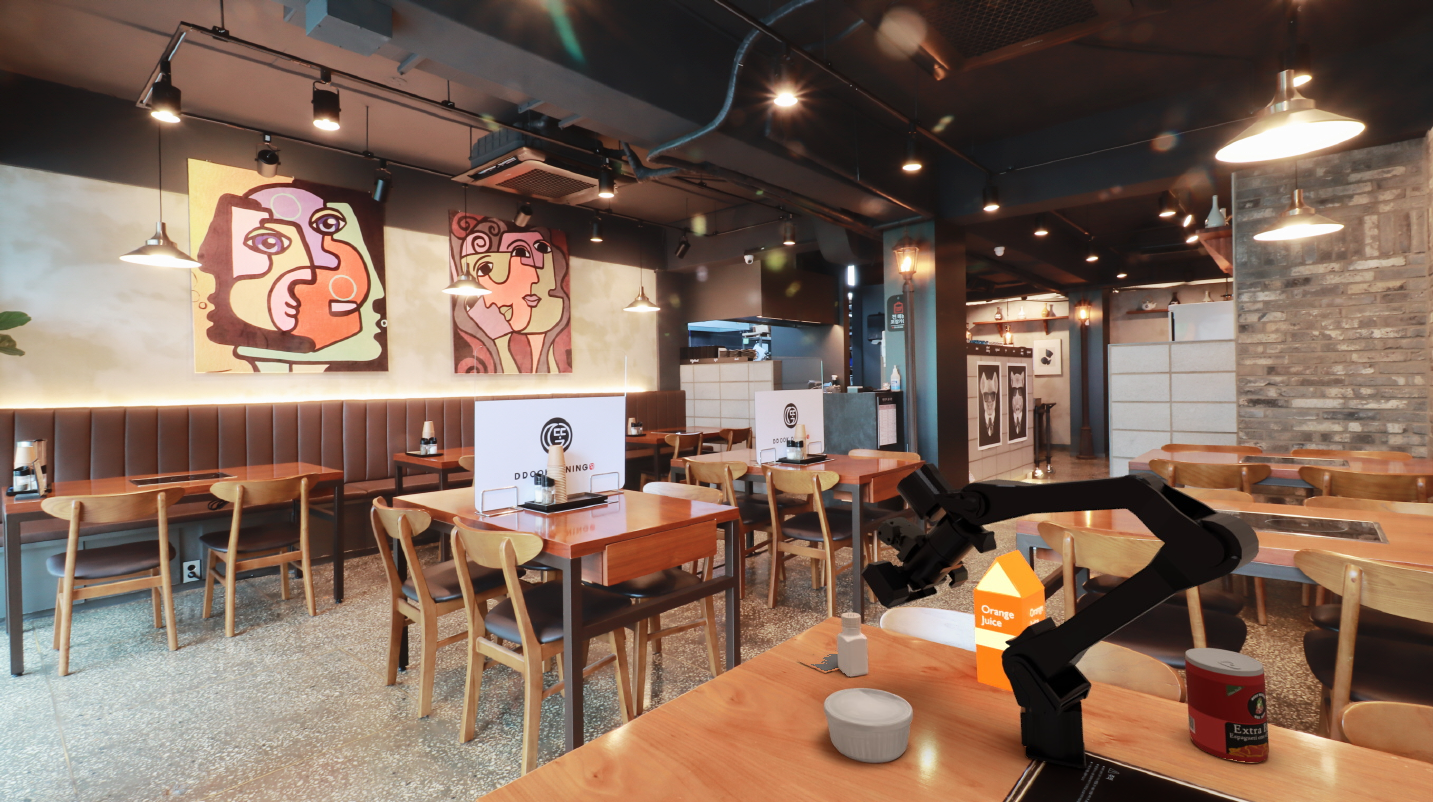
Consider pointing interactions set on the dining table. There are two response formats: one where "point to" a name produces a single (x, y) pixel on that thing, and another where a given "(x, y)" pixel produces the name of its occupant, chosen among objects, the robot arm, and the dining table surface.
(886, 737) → the ramekin
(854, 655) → the pepper shaker
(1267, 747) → the canned food
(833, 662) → the coaster
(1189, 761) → the dining table surface
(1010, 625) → the orange juice
